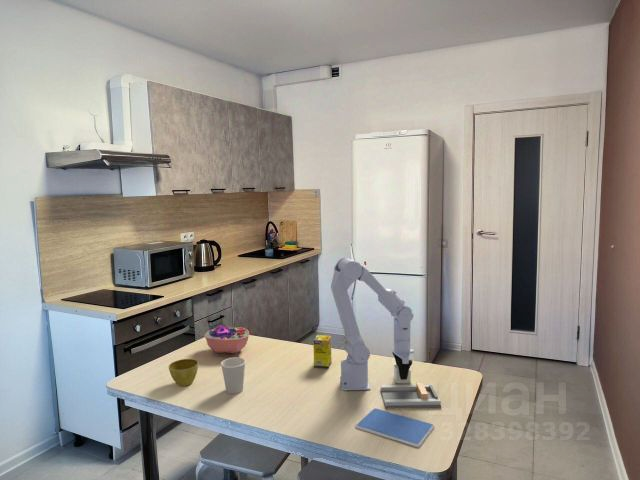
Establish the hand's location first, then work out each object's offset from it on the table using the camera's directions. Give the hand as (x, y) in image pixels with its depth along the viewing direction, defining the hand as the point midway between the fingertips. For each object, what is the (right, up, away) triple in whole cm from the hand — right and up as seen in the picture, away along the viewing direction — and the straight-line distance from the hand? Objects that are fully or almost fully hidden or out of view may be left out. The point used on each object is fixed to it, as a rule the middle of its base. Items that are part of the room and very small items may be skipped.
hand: (402, 375), depth 157 cm
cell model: (-68, 0, +31) cm, 74 cm away
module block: (0, -2, 0) cm, 2 cm away
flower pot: (-77, -3, +2) cm, 77 cm away
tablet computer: (-8, -6, -30) cm, 32 cm away
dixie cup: (-58, -4, -5) cm, 58 cm away
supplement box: (-28, -1, +15) cm, 31 cm away
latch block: (+4, -3, -14) cm, 15 cm away
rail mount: (0, -3, -14) cm, 14 cm away
